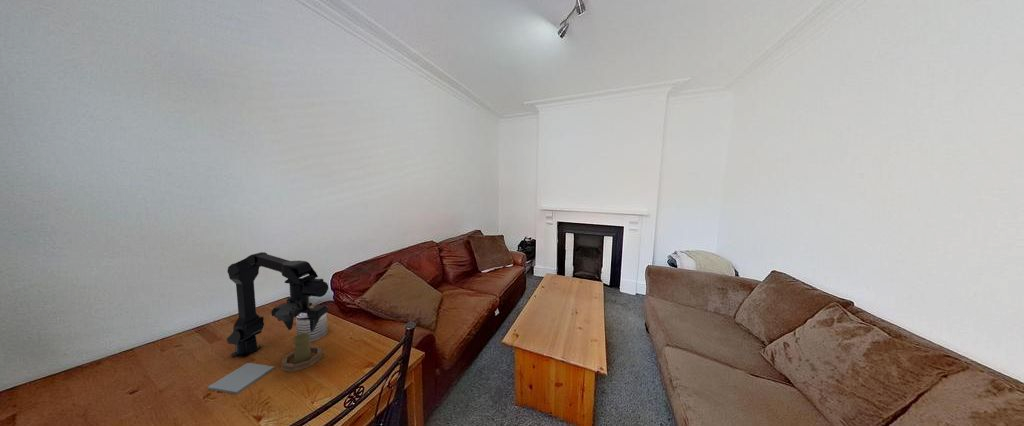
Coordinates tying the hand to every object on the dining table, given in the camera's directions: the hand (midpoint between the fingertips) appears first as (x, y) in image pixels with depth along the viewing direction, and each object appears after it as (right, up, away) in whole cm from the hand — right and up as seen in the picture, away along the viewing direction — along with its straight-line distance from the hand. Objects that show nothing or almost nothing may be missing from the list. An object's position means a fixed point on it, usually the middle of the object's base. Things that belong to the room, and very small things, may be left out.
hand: (301, 330), depth 100 cm
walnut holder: (-1, -13, +1) cm, 13 cm away
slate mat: (-14, -14, -9) cm, 21 cm away
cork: (-1, -13, +1) cm, 13 cm away
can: (-10, -11, +18) cm, 23 cm away
